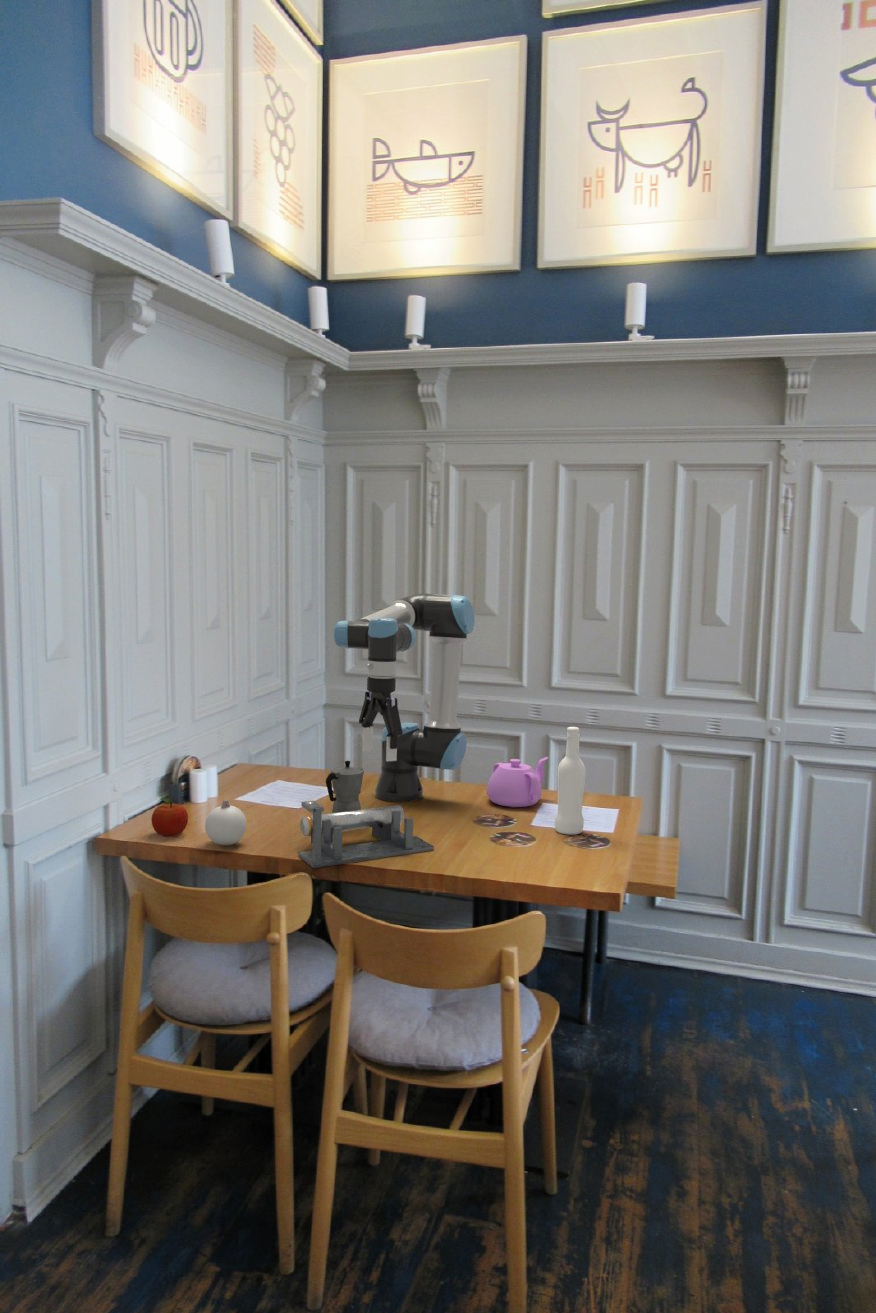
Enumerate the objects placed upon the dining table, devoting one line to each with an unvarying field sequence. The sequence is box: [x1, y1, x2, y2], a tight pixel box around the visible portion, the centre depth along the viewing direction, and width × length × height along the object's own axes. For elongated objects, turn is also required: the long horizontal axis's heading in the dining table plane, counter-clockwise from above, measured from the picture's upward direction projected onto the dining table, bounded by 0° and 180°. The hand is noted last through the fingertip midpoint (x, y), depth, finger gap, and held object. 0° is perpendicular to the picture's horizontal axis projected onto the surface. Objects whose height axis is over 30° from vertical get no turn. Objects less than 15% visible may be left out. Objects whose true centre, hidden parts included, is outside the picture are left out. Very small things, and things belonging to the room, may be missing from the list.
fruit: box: [151, 797, 189, 838], centre depth 255 cm, size 10×10×10 cm
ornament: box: [204, 799, 248, 846], centre depth 249 cm, size 10×10×12 cm
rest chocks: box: [310, 822, 392, 846], centre depth 254 cm, size 21×8×5 cm, turn 120°
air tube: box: [300, 804, 405, 837], centre depth 254 cm, size 28×5×5 cm, turn 120°
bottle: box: [554, 726, 587, 836], centre depth 269 cm, size 8×8×30 cm
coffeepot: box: [325, 760, 365, 813], centre depth 271 cm, size 15×9×18 cm, turn 145°
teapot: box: [486, 756, 549, 809], centre depth 300 cm, size 22×22×14 cm
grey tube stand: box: [297, 800, 435, 869], centre depth 244 cm, size 35×10×15 cm, turn 120°
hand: (379, 755), depth 253 cm, fingers open, 13 cm apart
